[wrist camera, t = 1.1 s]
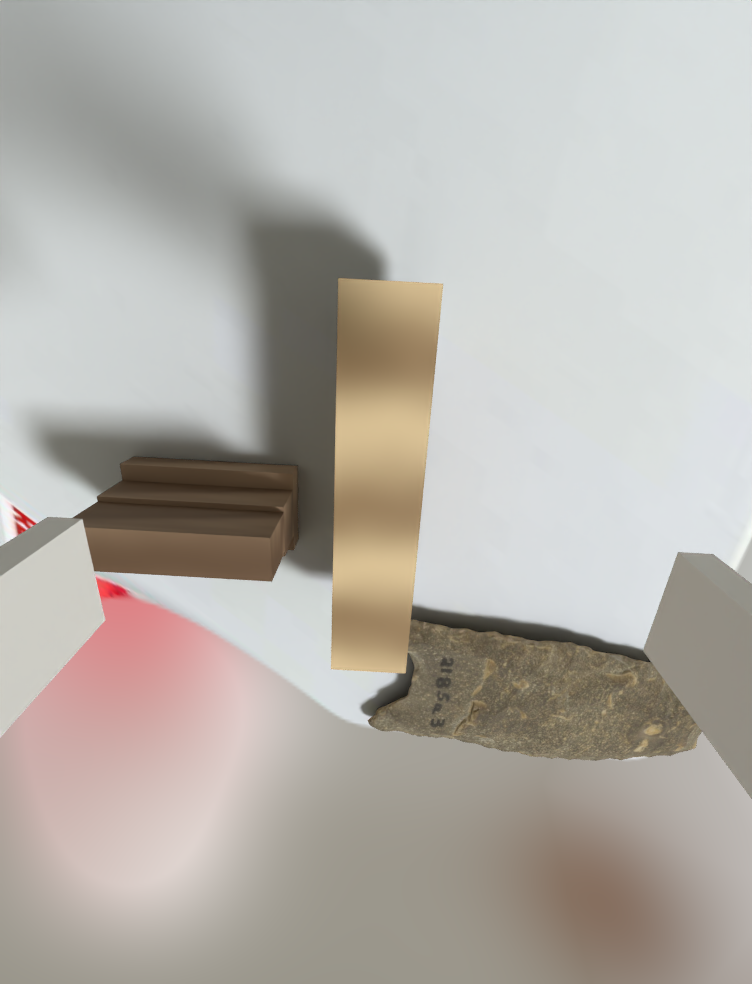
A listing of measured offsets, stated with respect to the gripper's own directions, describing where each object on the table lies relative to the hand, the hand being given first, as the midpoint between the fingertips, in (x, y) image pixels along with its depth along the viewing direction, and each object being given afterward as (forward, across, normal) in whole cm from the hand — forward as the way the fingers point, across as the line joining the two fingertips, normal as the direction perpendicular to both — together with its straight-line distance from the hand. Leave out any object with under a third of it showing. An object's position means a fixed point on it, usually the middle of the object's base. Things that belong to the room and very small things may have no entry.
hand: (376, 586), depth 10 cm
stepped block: (+17, -10, -6) cm, 21 cm away
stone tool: (+17, +13, -20) cm, 30 cm away
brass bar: (+14, 0, -3) cm, 14 cm away
